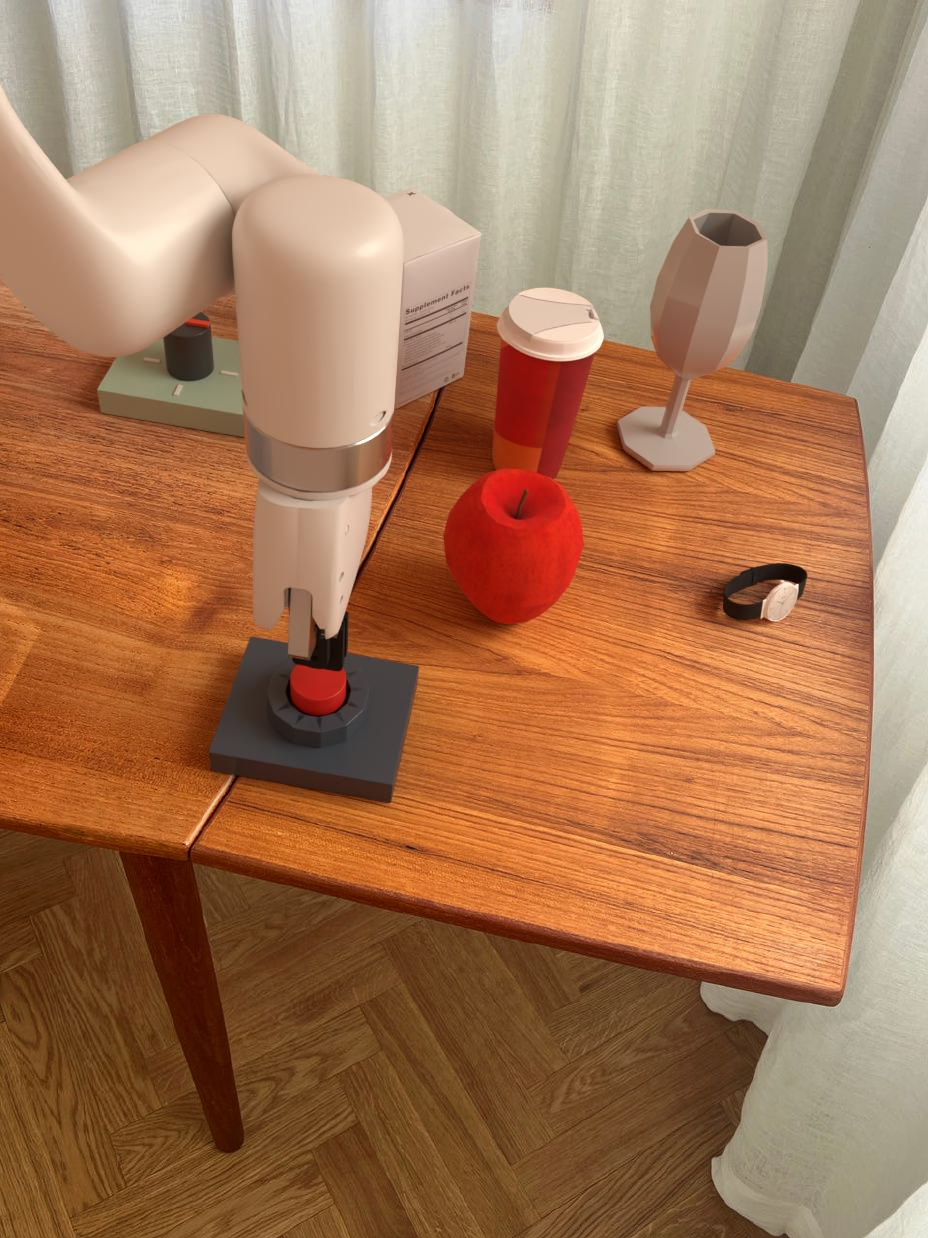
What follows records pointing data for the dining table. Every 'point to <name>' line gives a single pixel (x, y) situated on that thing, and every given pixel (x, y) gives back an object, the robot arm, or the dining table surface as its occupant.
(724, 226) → the wineglass
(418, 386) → the rectangular carton
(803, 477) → the dining table surface
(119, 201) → the robot arm
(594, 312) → the coffee cup
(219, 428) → the panel
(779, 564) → the watch
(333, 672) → the power button
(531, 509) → the apple
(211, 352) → the timer knob
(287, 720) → the grey button base
